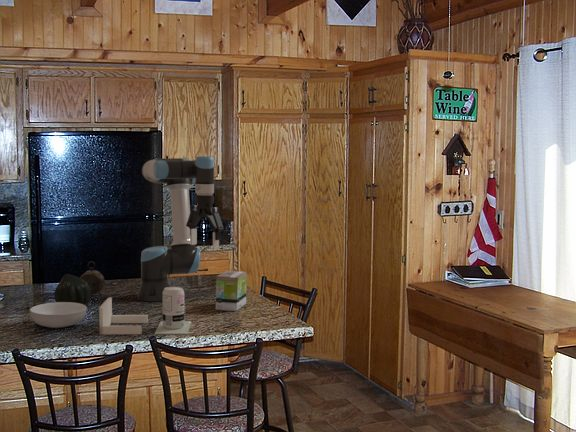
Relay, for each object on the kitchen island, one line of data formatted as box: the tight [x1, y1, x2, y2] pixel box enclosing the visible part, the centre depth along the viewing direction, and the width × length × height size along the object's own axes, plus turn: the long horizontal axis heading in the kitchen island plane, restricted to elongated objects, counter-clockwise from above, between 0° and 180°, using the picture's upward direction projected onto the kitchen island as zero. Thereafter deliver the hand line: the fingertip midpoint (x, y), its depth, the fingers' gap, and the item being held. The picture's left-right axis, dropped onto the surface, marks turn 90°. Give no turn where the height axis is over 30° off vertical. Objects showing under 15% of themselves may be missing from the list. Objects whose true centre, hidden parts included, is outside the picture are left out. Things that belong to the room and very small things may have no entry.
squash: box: [53, 273, 92, 306], centre depth 304 cm, size 14×15×15 cm
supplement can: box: [162, 286, 185, 329], centre depth 271 cm, size 8×8×15 cm
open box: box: [98, 297, 149, 335], centre depth 270 cm, size 15×17×10 cm
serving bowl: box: [29, 301, 88, 329], centre depth 274 cm, size 21×21×7 cm
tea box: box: [215, 270, 248, 312], centre depth 307 cm, size 15×10×15 cm, turn 168°
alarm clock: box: [79, 261, 106, 297], centre depth 324 cm, size 11×5×16 cm, turn 84°
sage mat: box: [154, 320, 192, 335], centre depth 272 cm, size 12×18×1 cm, turn 3°
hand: (204, 246), depth 290 cm, fingers open, 13 cm apart
